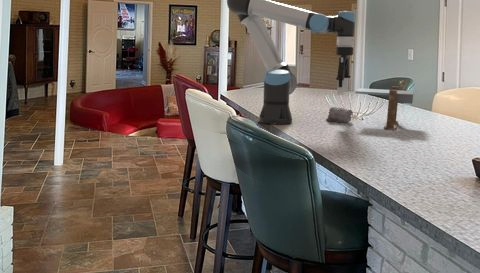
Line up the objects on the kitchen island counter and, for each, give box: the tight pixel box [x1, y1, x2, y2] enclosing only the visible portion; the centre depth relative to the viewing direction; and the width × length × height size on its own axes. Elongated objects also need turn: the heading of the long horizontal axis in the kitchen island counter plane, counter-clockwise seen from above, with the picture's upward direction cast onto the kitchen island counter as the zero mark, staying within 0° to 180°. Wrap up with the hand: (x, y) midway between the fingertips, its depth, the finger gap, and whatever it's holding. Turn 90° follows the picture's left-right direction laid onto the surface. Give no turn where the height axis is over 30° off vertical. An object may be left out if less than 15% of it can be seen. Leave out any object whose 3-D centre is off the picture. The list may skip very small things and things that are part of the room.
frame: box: [383, 85, 400, 131], centre depth 209 cm, size 5×22×17 cm, turn 159°
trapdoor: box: [354, 87, 415, 105], centre depth 209 cm, size 24×16×4 cm, turn 69°
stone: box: [325, 106, 354, 123], centre depth 218 cm, size 8×12×7 cm, turn 66°
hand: (342, 93), depth 216 cm, fingers open, 13 cm apart
